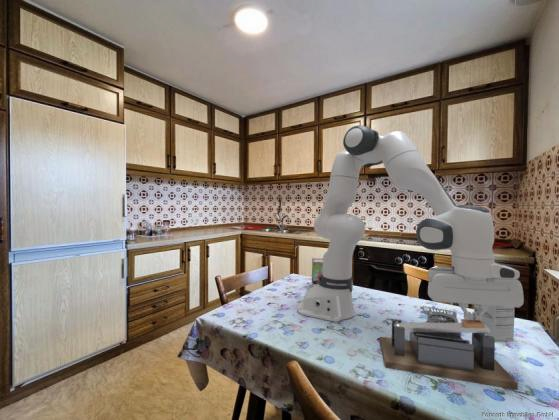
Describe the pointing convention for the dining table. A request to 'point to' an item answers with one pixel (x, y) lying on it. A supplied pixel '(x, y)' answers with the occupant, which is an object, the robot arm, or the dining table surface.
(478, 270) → the robot arm
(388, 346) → the heatsink board
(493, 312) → the supplement box
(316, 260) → the tea box
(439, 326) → the bar
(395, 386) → the dining table surface
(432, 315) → the graphics card
